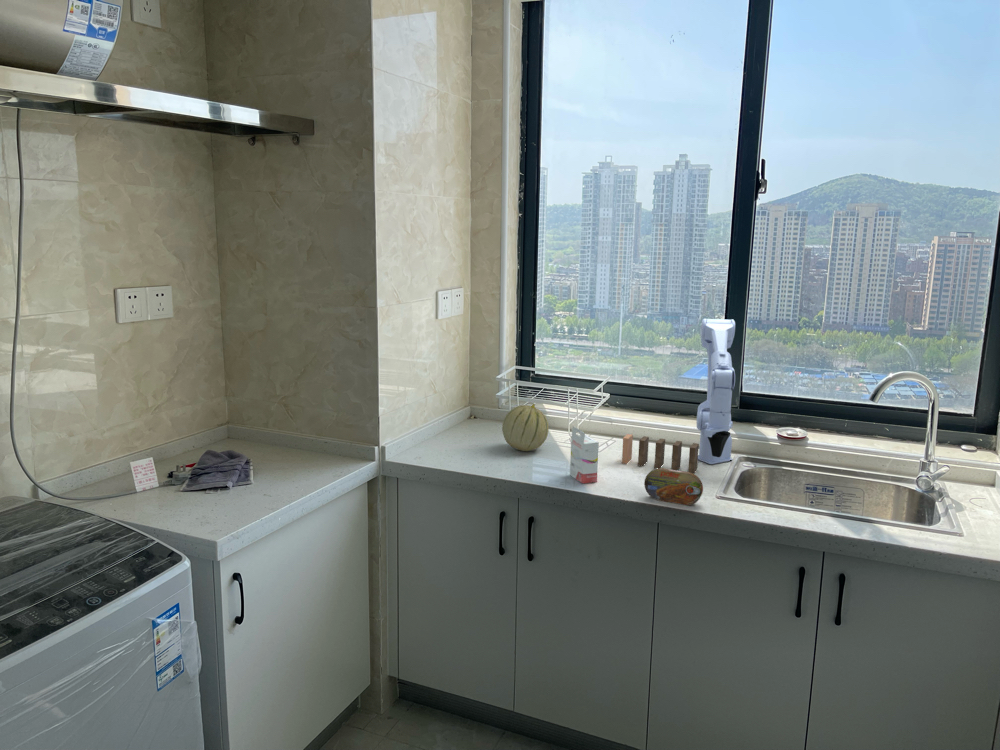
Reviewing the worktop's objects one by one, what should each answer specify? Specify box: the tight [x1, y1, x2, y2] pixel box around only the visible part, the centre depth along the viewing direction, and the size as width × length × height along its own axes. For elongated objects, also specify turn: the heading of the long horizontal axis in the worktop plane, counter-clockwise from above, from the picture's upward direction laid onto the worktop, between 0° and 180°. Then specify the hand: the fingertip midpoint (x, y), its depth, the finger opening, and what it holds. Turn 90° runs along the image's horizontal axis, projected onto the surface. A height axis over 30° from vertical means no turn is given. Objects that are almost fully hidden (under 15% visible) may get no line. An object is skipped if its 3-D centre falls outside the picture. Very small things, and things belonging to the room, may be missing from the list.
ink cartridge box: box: [569, 425, 600, 484], centre depth 208 cm, size 9×5×15 cm, turn 20°
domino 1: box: [621, 433, 634, 465], centre depth 225 cm, size 2×5×8 cm, turn 154°
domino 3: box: [653, 438, 666, 469], centre depth 220 cm, size 2×5×8 cm, turn 154°
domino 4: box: [670, 440, 683, 471], centre depth 218 cm, size 2×5×8 cm, turn 154°
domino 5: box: [687, 442, 700, 474], centre depth 216 cm, size 2×5×8 cm, turn 154°
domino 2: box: [637, 435, 650, 467], centre depth 222 cm, size 2×5×8 cm, turn 154°
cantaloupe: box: [501, 403, 550, 452], centre depth 234 cm, size 15×15×15 cm
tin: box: [644, 467, 704, 506], centre depth 192 cm, size 15×3×8 cm, turn 62°
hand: (716, 456), depth 213 cm, fingers closed
